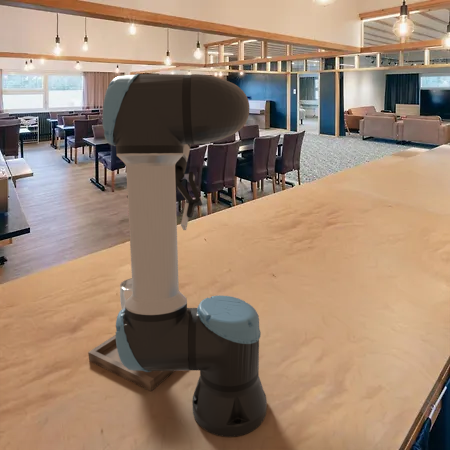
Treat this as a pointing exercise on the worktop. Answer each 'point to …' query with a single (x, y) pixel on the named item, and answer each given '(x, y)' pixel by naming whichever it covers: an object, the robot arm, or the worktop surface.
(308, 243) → the worktop surface
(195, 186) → the robot arm
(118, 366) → the walnut tray
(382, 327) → the worktop surface
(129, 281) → the silver metal cup
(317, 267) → the worktop surface
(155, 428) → the worktop surface
